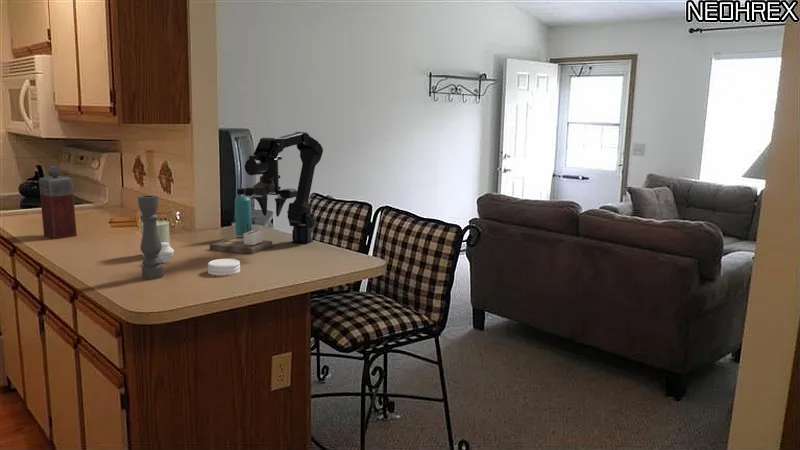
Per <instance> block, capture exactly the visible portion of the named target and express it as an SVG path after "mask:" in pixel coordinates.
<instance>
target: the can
mask: <svg viewBox="0 0 800 450" xmlns="http://www.w3.org/2000/svg"><path fill="white" fill-rule="evenodd" d="M140 225H141V235H142V236H143V222H141V224H140ZM156 225H157V232H158V235H159V239H160V242H161V243H162V242H167V243H169V244H170V245H171V241H170V222H169V221H167V220H156ZM142 236H141V237H142ZM142 257H143V258H145V257H144V254H143V253H142Z"/></svg>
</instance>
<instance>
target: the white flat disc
mask: <svg viewBox="0 0 800 450" xmlns="http://www.w3.org/2000/svg"><path fill="white" fill-rule="evenodd" d="M240 272H241V261H240V260H238V259H235V258H219V259H218V258H217V259H214V260H210V261H209V262H208V263H207V273H208V274H209V275H210V274H211V275H210V276H214V275H216V277H217V276H218V277H223V276H224V277H225V276H226V275H228V276H234V275H237V274H239V273H240ZM233 274H234V275H233Z"/></svg>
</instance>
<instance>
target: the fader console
mask: <svg viewBox="0 0 800 450" xmlns="http://www.w3.org/2000/svg"><path fill="white" fill-rule="evenodd" d="M272 247H273V240H265V239H262V242H260V243H258V244H255V245H248V244H244V237H243V238H241V237H233V236H232V237H228V238H225V239H222V240H219V241H217V242H216V241H215V242H213V243H210V244H209V251H218V252H219V251H220V252H228V253H237V254H250V255H253V254H256V253H258V252H261V251H265V250H266V249H269V248H272Z"/></svg>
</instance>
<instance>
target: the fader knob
mask: <svg viewBox="0 0 800 450" xmlns="http://www.w3.org/2000/svg"><path fill="white" fill-rule="evenodd" d="M243 238H244V244H248V245H255V244H258V243H260V242H262V240H263V232H262V230H252V231H249V232H246V233H244V236H243Z"/></svg>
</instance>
